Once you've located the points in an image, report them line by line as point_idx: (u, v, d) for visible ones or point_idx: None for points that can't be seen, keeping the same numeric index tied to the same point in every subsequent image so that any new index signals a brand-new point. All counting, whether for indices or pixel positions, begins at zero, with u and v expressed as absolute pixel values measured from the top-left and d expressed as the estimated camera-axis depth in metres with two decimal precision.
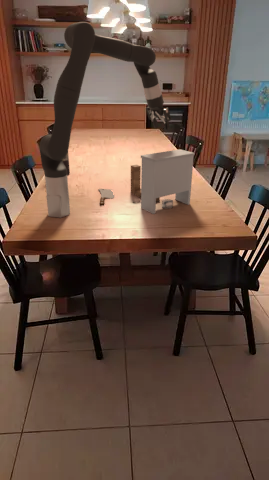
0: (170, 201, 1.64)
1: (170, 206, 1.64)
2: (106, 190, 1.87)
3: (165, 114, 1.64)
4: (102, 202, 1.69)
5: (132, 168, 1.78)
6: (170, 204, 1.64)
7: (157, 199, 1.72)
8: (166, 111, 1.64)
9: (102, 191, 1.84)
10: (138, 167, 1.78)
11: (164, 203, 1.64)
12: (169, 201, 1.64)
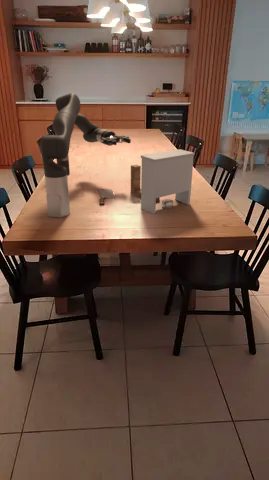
0: (170, 201, 1.64)
1: (170, 206, 1.64)
2: (106, 190, 1.87)
3: None
4: (102, 202, 1.69)
5: (132, 168, 1.78)
6: (170, 204, 1.64)
7: (157, 199, 1.72)
8: None
9: (102, 191, 1.84)
10: (138, 167, 1.78)
11: (164, 203, 1.64)
12: (169, 201, 1.64)
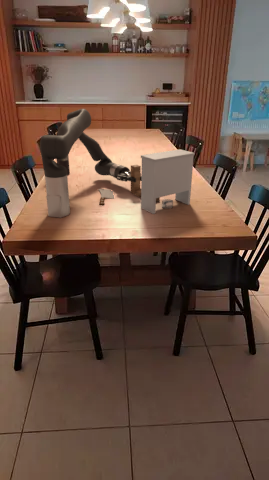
0: (170, 201, 1.64)
1: (170, 206, 1.64)
2: (106, 190, 1.87)
3: None
4: (102, 202, 1.69)
5: (132, 168, 1.78)
6: (170, 204, 1.64)
7: (157, 199, 1.72)
8: None
9: (102, 191, 1.84)
10: (138, 167, 1.78)
11: (164, 203, 1.64)
12: (169, 201, 1.64)
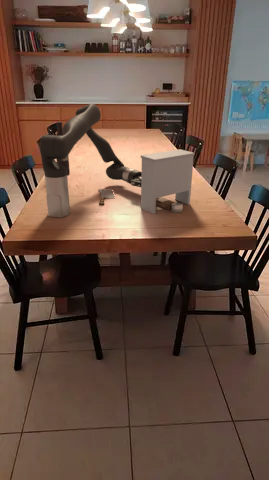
0: (180, 205, 1.60)
1: (180, 210, 1.59)
2: (106, 190, 1.87)
3: None
4: (102, 202, 1.69)
5: None
6: (180, 208, 1.59)
7: None
8: None
9: (102, 191, 1.84)
10: None
11: (174, 207, 1.59)
12: (179, 205, 1.60)
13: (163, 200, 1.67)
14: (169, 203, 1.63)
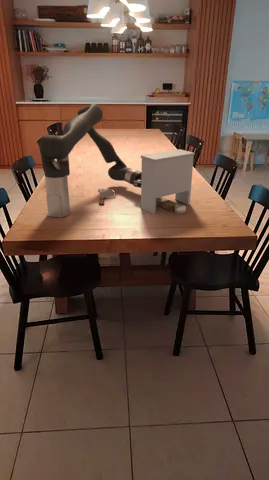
0: (183, 206, 1.58)
1: (183, 212, 1.58)
2: (106, 190, 1.87)
3: None
4: (102, 202, 1.69)
5: None
6: (183, 209, 1.57)
7: None
8: None
9: (102, 191, 1.84)
10: None
11: (177, 208, 1.57)
12: (182, 206, 1.58)
13: (166, 201, 1.65)
14: (172, 204, 1.62)
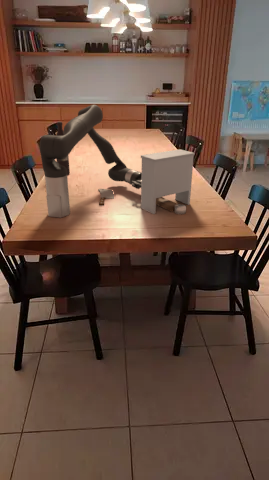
0: (183, 206, 1.58)
1: (183, 212, 1.58)
2: (106, 190, 1.86)
3: None
4: (102, 202, 1.69)
5: None
6: (183, 209, 1.57)
7: None
8: None
9: (102, 191, 1.84)
10: None
11: (177, 208, 1.57)
12: (182, 206, 1.58)
13: (166, 201, 1.65)
14: (172, 204, 1.62)
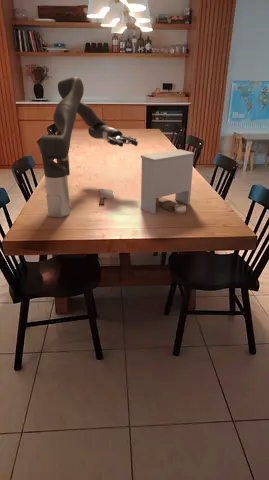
0: (183, 206, 1.58)
1: (183, 212, 1.58)
2: (106, 190, 1.86)
3: (132, 137, 1.84)
4: (102, 202, 1.69)
5: None
6: (183, 209, 1.57)
7: None
8: None
9: (102, 191, 1.84)
10: None
11: (177, 208, 1.57)
12: (183, 206, 1.58)
13: (166, 201, 1.65)
14: (172, 204, 1.62)
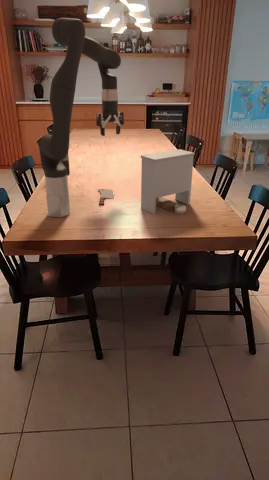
0: (183, 206, 1.58)
1: (183, 212, 1.58)
2: (106, 190, 1.86)
3: (123, 116, 1.75)
4: (101, 202, 1.68)
5: None
6: (183, 209, 1.57)
7: None
8: None
9: (102, 191, 1.84)
10: None
11: (177, 208, 1.57)
12: (183, 206, 1.58)
13: (166, 201, 1.65)
14: (172, 204, 1.62)
